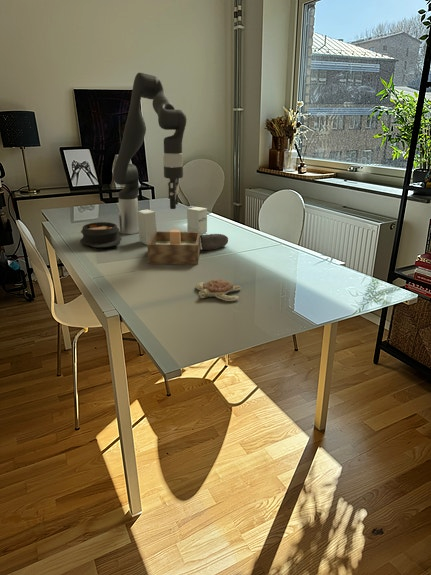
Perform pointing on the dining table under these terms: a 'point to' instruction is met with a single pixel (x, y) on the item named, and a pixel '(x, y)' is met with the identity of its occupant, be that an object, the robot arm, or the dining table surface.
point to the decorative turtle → (217, 290)
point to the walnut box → (174, 248)
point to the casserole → (100, 234)
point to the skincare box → (146, 225)
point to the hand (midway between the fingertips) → (174, 206)
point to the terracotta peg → (175, 237)
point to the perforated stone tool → (213, 241)
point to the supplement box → (197, 220)
